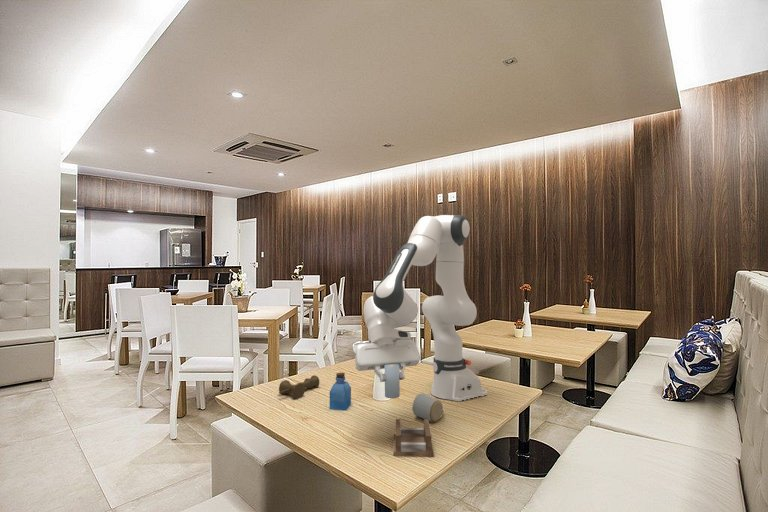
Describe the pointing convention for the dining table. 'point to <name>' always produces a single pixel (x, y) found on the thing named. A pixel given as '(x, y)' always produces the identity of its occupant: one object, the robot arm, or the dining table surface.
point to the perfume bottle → (340, 393)
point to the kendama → (298, 386)
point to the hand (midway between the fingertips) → (392, 379)
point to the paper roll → (392, 381)
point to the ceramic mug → (427, 407)
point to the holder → (412, 440)
